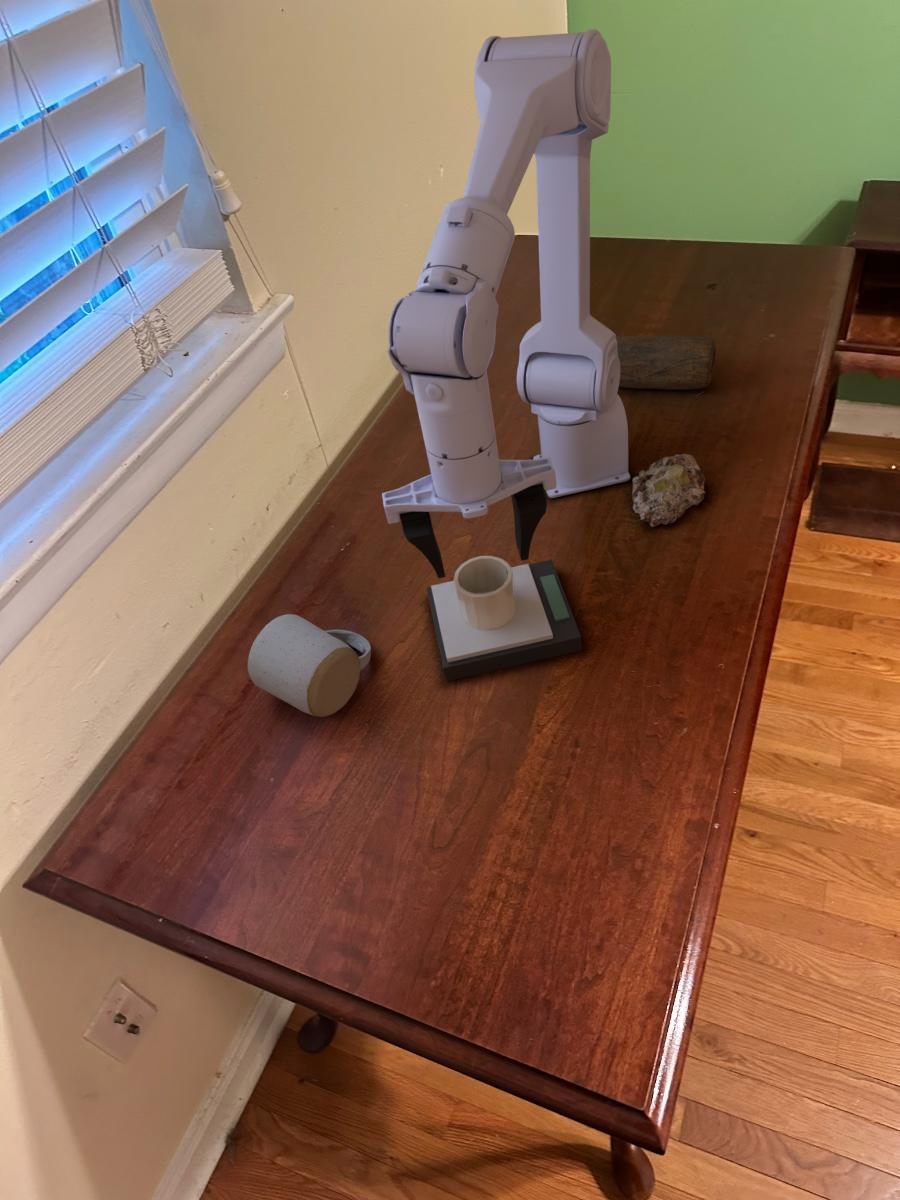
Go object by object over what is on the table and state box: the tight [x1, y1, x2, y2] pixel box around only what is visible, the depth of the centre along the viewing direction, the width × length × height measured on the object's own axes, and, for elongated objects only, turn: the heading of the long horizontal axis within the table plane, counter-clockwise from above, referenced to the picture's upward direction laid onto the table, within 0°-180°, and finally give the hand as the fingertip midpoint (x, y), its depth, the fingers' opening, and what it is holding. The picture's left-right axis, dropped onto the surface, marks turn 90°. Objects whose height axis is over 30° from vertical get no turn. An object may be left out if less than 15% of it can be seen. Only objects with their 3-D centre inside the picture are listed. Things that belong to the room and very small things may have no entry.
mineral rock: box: [631, 453, 707, 528], centre depth 92 cm, size 11×4×8 cm
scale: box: [426, 559, 583, 682], centre depth 83 cm, size 13×11×3 cm
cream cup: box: [453, 555, 517, 630], centre depth 80 cm, size 5×5×4 cm
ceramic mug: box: [247, 613, 372, 718], centre depth 79 cm, size 11×8×8 cm
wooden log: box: [616, 335, 717, 391], centre depth 106 cm, size 15×7×7 cm, turn 75°
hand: (481, 561), depth 78 cm, fingers open, 7 cm apart
